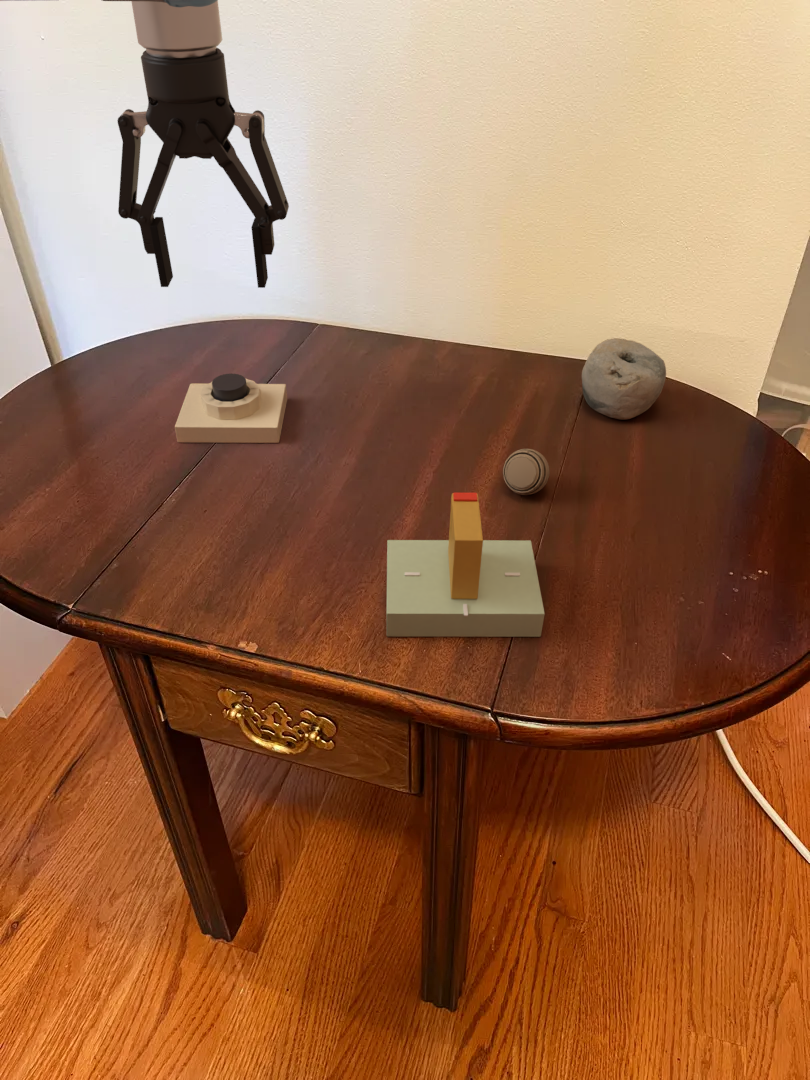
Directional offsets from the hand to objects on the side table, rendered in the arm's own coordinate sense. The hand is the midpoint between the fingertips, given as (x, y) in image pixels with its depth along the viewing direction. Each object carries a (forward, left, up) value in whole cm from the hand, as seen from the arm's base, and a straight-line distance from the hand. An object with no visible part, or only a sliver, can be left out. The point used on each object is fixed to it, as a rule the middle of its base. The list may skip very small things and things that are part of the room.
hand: (215, 282), depth 91 cm
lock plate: (+26, -31, -18) cm, 44 cm away
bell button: (0, 0, -14) cm, 14 cm away
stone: (+48, +4, -18) cm, 51 cm away
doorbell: (0, 0, -18) cm, 18 cm away
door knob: (+34, -14, -18) cm, 41 cm away
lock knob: (+26, -31, -15) cm, 43 cm away
